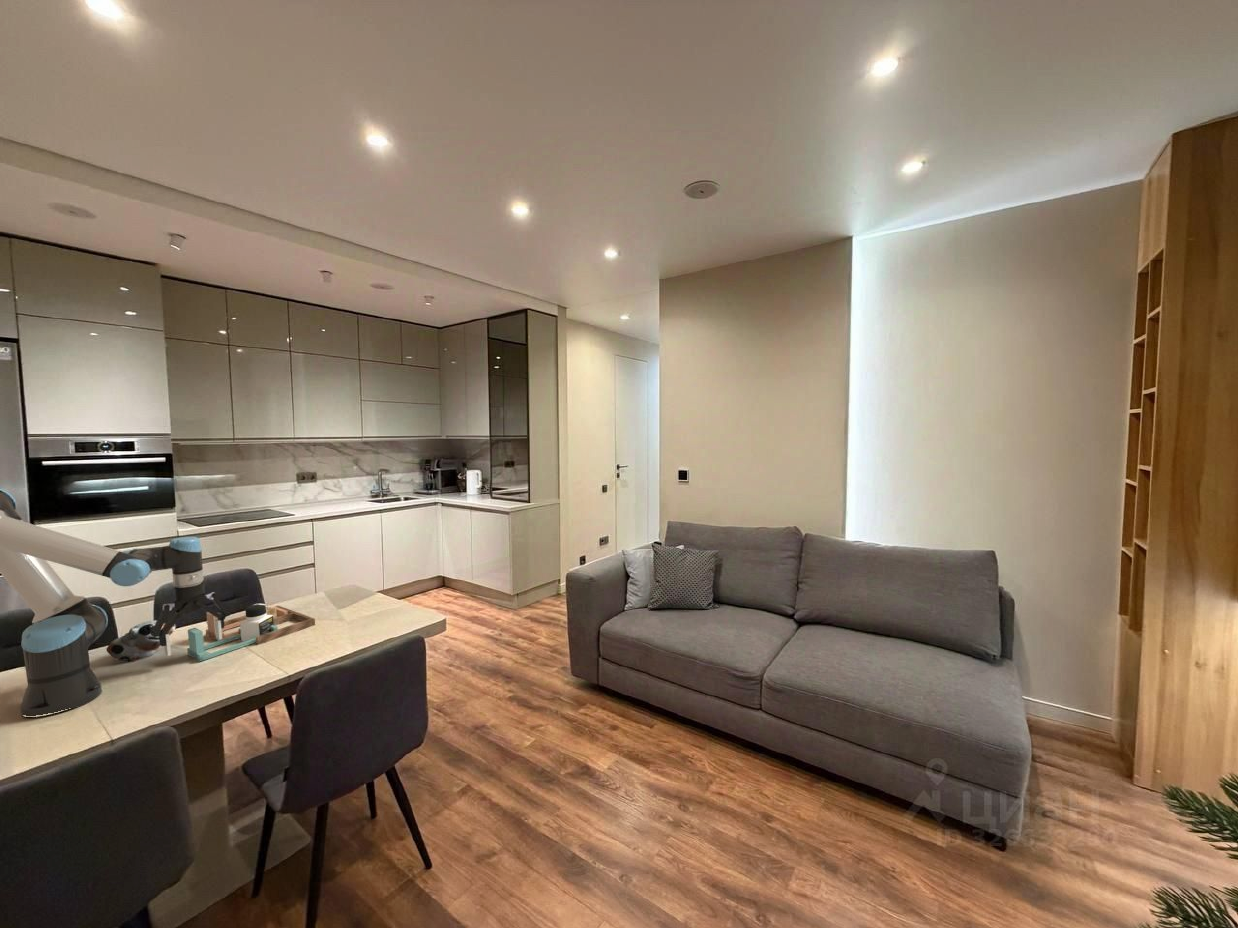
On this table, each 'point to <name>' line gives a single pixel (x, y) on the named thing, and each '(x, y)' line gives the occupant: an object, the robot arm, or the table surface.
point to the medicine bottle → (255, 622)
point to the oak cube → (271, 611)
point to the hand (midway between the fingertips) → (194, 646)
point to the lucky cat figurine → (136, 643)
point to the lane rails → (304, 623)
